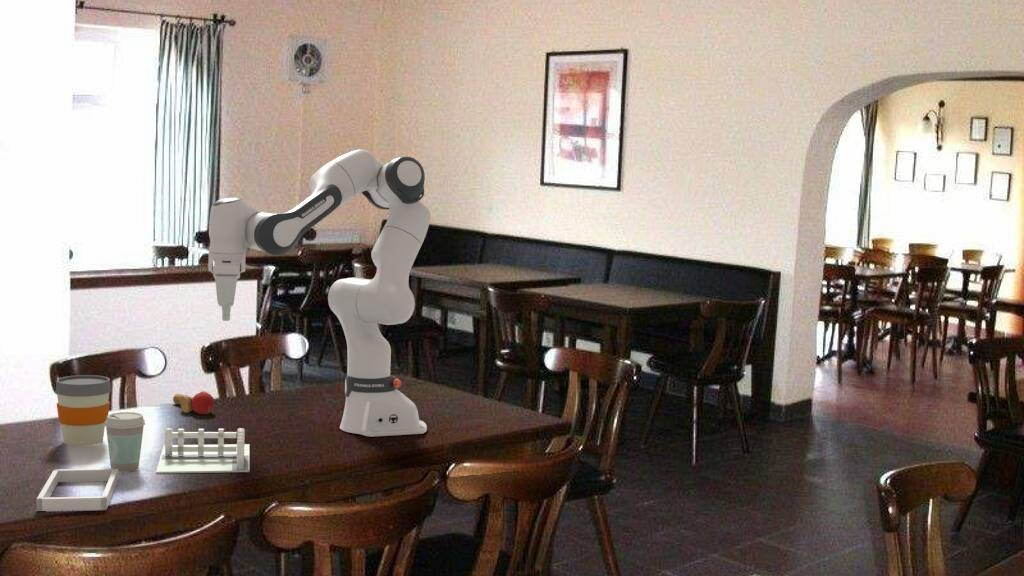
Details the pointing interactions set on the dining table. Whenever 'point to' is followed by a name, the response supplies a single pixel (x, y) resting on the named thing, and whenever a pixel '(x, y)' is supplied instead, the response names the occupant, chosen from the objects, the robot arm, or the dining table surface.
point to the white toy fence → (200, 436)
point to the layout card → (202, 461)
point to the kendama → (195, 402)
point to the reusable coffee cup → (83, 408)
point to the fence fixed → (240, 449)
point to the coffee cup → (124, 440)
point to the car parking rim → (77, 503)
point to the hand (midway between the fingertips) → (226, 320)
